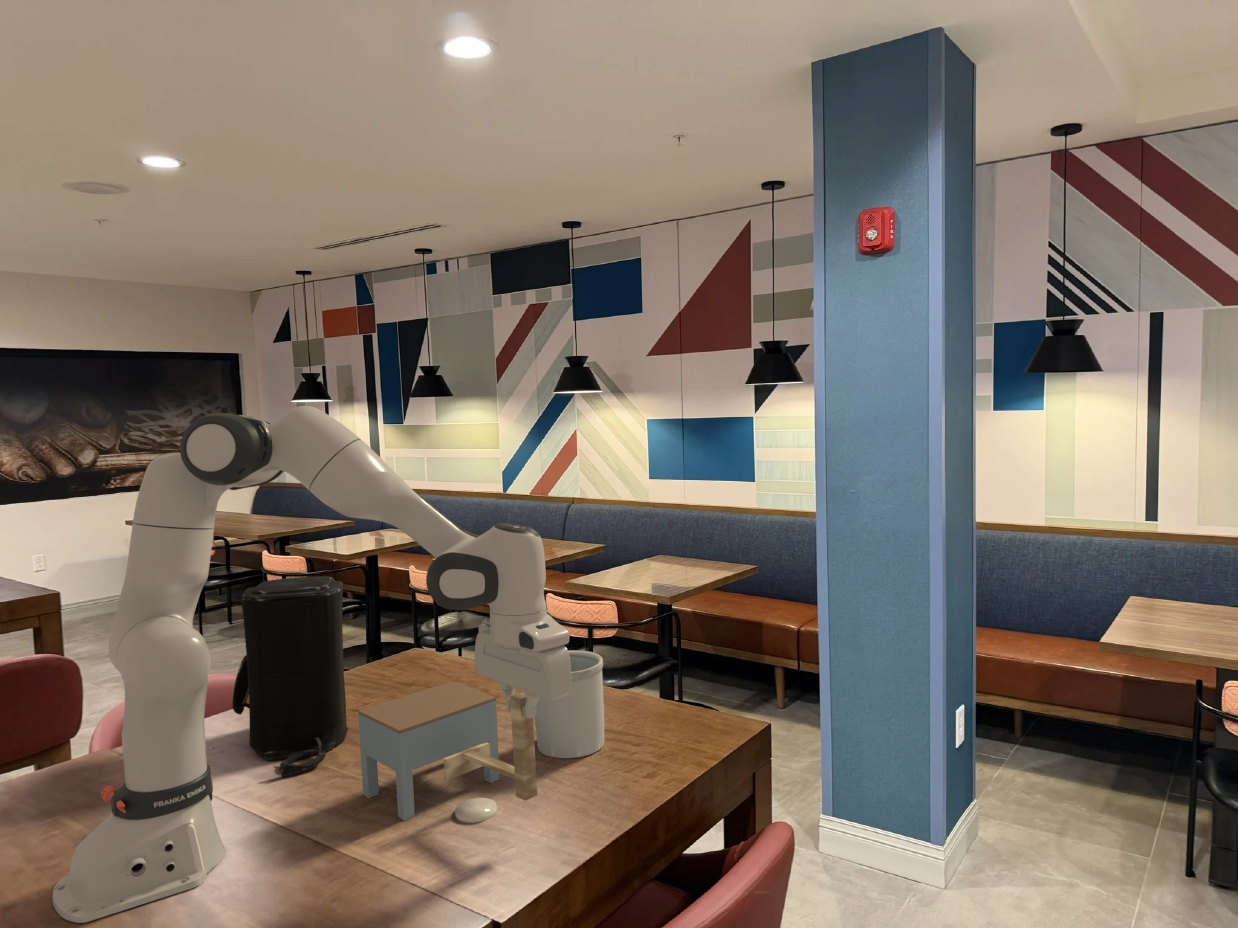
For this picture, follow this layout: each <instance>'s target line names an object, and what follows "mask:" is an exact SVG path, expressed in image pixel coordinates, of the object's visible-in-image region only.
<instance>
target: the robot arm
mask: <svg viewBox="0 0 1238 928" xmlns="http://www.w3.org/2000/svg"><path fill="white" fill-rule="evenodd" d="M284 472H285V473H287V474H289V475H291V476H292V478H294V479H296V480H297V481H298V482H300V483H301V485H302V486H303V487H305V488H306V489H307V490H308V491H309V492H310V493H311V494H312V495H314V496H315V497H316V498H317V499H318V500H320V501H321V503H323V504H324V505H326V506H327V507H329V508H331V509H332V510H333V511H335V512H337V513H339V514H341V515H343V516H345V517H347V518H352V519H361V520H362V519H363V520H371V521H372V520H373V521H377V522H383V523H385V524H389V525H391V526H393V527H396V528H397V529H398V530H400V531H401V532H403V533H404V534H405V535H407V536H408V537H409V538H411V539H412V540H413V541H414V542H416V543H417V544H418V545H419V546H421V547H422V548H423V549H425V551H427V552H428V553H430V555H432V556H433V557H434V558H435V559H433V561H432V562H431V564H430V565H429V567H428V570H427V571H426V580H425V583H426V588H427V591H428V594H429V596H430V597H431V599H433V601H434V602H435V603H436V604H437V605H438V606H440V607H442V608H443V609H446V610H451V611H462V610H463V611H464V610H467V609H473V608H479V607H482V606H485V605H486V606H489V618H485V619H483V620H482V621H481V622H480V624H479V625H478V633H477V635H476V639H475V644H474V648H475V649H474V659H473V660H474V661H473V663H474V668H475V671H476V673H477V675H479V676H481V677H484V678H487V679H489V680H492V681H495V682H498V683H500V690H501V693H502V695H503V697H504V700H505V709H506V710H507V711H509V712H510V713H511V704H510V696H513V695H516V694H517V693H516V689H517V690H520V691H523V692H524V693H525V697H526V698H527V701H526V704H525V705H523V706H521V710H522V713H521V714H522V716H523V717H526V718H529V719H530V718H533V719H534V718H535V716H536V705H537V703H538V701H539V699H540V697H542V698H545V699H548V700H556V699H559V698H562V697H564V696H566V695H567V694H568V692H569V691H570V688H571V665H570V656H569V652H568V651H569V650H568V648H567V647H566V646H565V645H567V644H569V642H570V633H569V631H568V629H566V628H565V627H564V626H563V625H561V624H560V623H559V622H558V621H557V620H555V619H554V618H553V617H552V616H551V615H549V613H547V611H548V610H547V607H548V606H547V602H546V599H545V594H544V593H545V592H544V591H545V585H546V582H547V581H546V580H547V576H546V575H547V573H546V571H547V570H546V559H545V558H546V556H545V549H544V543H543V539H542V537H541V535H540V533H539V532H538V531H536V530H535V529H534V528H532V527H529V526H527V525H524V524H519V523H518V524H517V523H511V522H510V523H506V522H504V523H497V524H495V525H492V527H491V528H490V529H488V530H487V531H485V532H484V533H482V534H481V535H480V534H475V533H472V532H470V531H467V530H466V529H464V528H461V526H459V525H458V524H456V522H454V521H452V520H451V519H450V518H448V517H447V516H446V515H445V514H444V513H442V512H441V511H440V510H439V509H437V508H436V507H435V506H434V505H433V504H431V503H430V502H429V501H428V500H426V499H425V498H424V497H423V496H421V495H420V494H419V493H418V492H416V491H415V490H414V489H413V488H411V486H410V485H408V483H407V482H405V481H404V480H403V479H402V478H401V477H400V476H399V475H398V474H397V473H396V472H395V471H394V470H393V468H391V467H390V466H389V465H388V464H387V463H386V461H384V460H383V459H382V457H381V456H379V454H377V452H375V451H374V450H373V448H372V447H370V446H369V445H368V444H367V443H366V442H365V441H363V440H362V439H361V438H360V437H359V436H357V434H355V433H354V432H353V431H351V430H350V428H348V427H347V426H345V425H344V424H342V423H341V422H340V421H338V420H337V419H335V417H332V416H331V415H329V414H328V413H326V412H324V411H322V410H321V409H319V408H317V407H315V406H310V405H300V406H296V407H293V408H291V409H290V410H287V411H286V412H285V413H284V414H282V415H281V416H280V417H279V418H278V419H277V420H276V421H274V422H273V423H270V422H268V421H264V420H261V419H258V418H256V417H253V416H249V415H247V414H246V415H245V414H235V413H234V414H233V413H227V412H226V413H225V412H220V413H219V412H218V413H211V414H207V415H204V416H202V417H199V418H198V419H196V420H194V421H193V422H192V423H190V424H189V425H188V426H187V428H186V429H185V430H184V432H183V434H182V436H181V440H180V443H179V452H170V453H167V454H163V455H159V456H157V457H155V458H154V459H153V460H151V461H150V462H149V463H148V465H147V467H146V469H145V472H144V475H143V478H142V480H141V484H140V487H139V490H138V495H137V499H136V502H135V508H134V511H133V512H134V513H133V520H132V527H131V533H130V540H129V550H128V555H127V556H128V557H127V563H126V570H125V576H124V581H123V585H122V589H121V592H120V596H119V599H118V603H117V607H116V610H115V615H114V619H113V625H112V629H111V633H110V636H109V640H108V655H109V660H110V661H111V664H112V665H113V666H114V668H115V669H116V670H117V671H118V672H119V673H120V676H121V679H122V681H123V688H124V712H123V713H124V714H123V715H124V716H123V726H122V731H121V743H122V757H123V769H124V770H123V771H124V783H123V784H122V785H121V786H120V787H119V789H116V787H114V785H107V786H105V787H104V788H102V790H101V792H100V796H101V799H103V801H104V802H106V803H107V804H109V803H110V808H111V813H110V814H109V815H108V816H107V817H106V818H105V819H104V820H103V821H102V822H101V823H100V824H99V825H97V827H96V828H95V829H93V830H92V831H91V832H90V833H89V834H88V835H87V836H86V837H85V838H84V839H83V840H82V841H80V842H79V844H78V845H77V846H76V848H75V849H74V852H73V855H72V857H71V862H70V869H69V870H70V871H69V875H67V876H65V877H62V878H61V879H60V880H58V882H57V883H56V884H55V885H54V887H53V889H52V905H53V908H54V909H55V911H56V912H57V915H59V916H60V917H61V918H63V919H64V920H66V921H68V922H73V923H78V924H85V923H88V922H92V921H95V920H98V919H101V918H105V917H107V916H109V915H112V914H116V913H120V912H122V911H125V910H129V909H132V908H135V907H139V906H141V905H145V904H147V903H151V902H154V901H157V900H160V899H163V898H167V897H169V896H173V895H175V894H179V893H182V892H184V891H188V890H191V889H193V888H196V887H198V886H200V885H201V884H202V883H203V881H205V877H206V876H207V874H208V873H209V872H210V871H211V870H212V869H214V868H215V867H216V866H217V865H218V864H219V863H220V862H221V861H222V859H223V858H224V856H225V852H226V849H225V848H226V847H225V845H224V843H223V842H222V839H221V836H220V833H219V831H218V828H217V823H216V820H215V816H214V815H215V813H214V812H213V805H212V801H213V793H214V784H213V774H212V772H211V766H210V765H209V764H208V760H207V758H208V757H207V743H206V731H205V730H206V727H205V713H206V712H205V709H206V702H207V694H208V679H209V674H210V671H211V666H212V665H211V664H212V659H211V653H210V649H209V647H208V644H207V642H206V639H205V637H204V636H203V635H202V634H201V633H200V632H199V631H198V630H197V629H195V628H194V624H193V623H194V622H193V621H194V617H195V612H196V610H197V609H196V608H197V604H198V603H199V599H200V595H201V592H202V590H203V587H204V586H205V584H206V583H207V581H208V578H209V572H210V566H211V565H210V564H211V563H210V562H211V558H212V557H211V556H212V548H213V547H212V546H213V539H214V532H215V524H216V522H215V521H216V513H217V509H218V508H217V507H218V503H219V501H220V499H221V497H222V495H224V493H225V492H226V491H228V490H229V491H230V490H231V491H237V490H241V489H247V488H252V487H253V488H254V487H258V486H263V485H266V484H268V483H271V482H273V481H274V480H276V479H278V478H279V477H280V476H281V475H282V474H283V473H284Z"/></svg>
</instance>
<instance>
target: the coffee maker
mask: <svg viewBox="0 0 1238 928" xmlns="http://www.w3.org/2000/svg"><path fill="white" fill-rule="evenodd" d="M343 595H344V583H343V582H342V581H341V580H335V578H333V577H331V576H327V575H323V576H322V575H321V576H318V575H317V576H300V577H287V578H279V579H278V578H276V579H269V580H264V581H262V582H260V583H259V584H258V585H257V586H252V587H248V588H247V589H246V590H245V591H244V592H243V593H242V594H241V598H240V601H241V610H242V619H243V628H244V639H245V640H244V641H245V650H246V651H245V653H246V654H245V655H244V656H243V658H242V660H241V663H240V664H239V667H238V670H237V673H236V677H235V681H234V685H233V691H232V692H233V693H232V702H231V703H232V710H233V712H234V713H235V714H237V715H240V716H241V715H242V714H243V713H244V711H245V708H247V709H248V711H249V713H248V714H249V716H248V717H249V747H250V748H251V749H252V750H253V751H254V752H255V753H256V754H258V755H259V757H261V758H265V760H266V761H274V760H276V761H277V760H282V761H281V763H279V765H274V766H273V768H274V769H279V770H281V773H280V775H281V778H285V776H288V775H293V774H295V773H298V772H303V771H304V770H306V769H310V768H314V767H315V766H317V765H319V764H321V763H322V762H323V761H324V759H325V757H326V756H327V752H329V751H332V750H334V749H335V747H337V746H338V745H340V744H341V742H344V741H345V739H346V737H347V734H348V730H349V728H348V725H347V724H348V723H347V710H346V709H347V701H346V700H347V699H346V686H345V685H346V683H345V669H344V666H345V665H344V639H343V637H344V636H343V634H344V633H343V608H344V607H343V606H344V605H343V601H344V598H343V597H344V596H343ZM247 701H248V702H247ZM309 756H310V757H311V756H315V758H313V759H312V760H310V761H307V762H305V763H304V762H303V763H300V764H299V763H298V764H296V763H293V762H295V761H297V760H300V759H304V758H306V757H309Z"/></svg>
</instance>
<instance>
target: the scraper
mask: <svg viewBox="0 0 1238 928" xmlns="http://www.w3.org/2000/svg"><path fill="white" fill-rule="evenodd" d="M526 701H527V698H526V697H525V692H520V693H516V695H513V696H510V704H511V712H510V717H511V718H510V719H511V735H512V736H511V737H512V738H511V739H512V751H513V755H512V756H513V765H511V764H509V763H507V762H504V761H503V760H500V759H499V760H497V759H494V758H492V757H490V743H488V742H486V743H484V744H483V743H482V744H480V745H477V746H475V747H472V748H469V749H467V750H464V751H462V752H459V753H457V754H454V755H451V756H449V757H446V758H443V759H442V760H443V775H444V780H446V781H449V780H451V779H454V778H456V777H459V776H461V775H463V774H466V773H469V772H472V771H474V770H477V769H479V768H481V767H483V768H484V767H486V768H488V769H491V770H493V771H496V772H498V773H499V775H504V776H505V777H508V778H511V779H512V780H514V785H515V786H514V787H515V797H516V798H518V799H521V800H523V801H524V802H526V801H528V800H531V799H532V798H535V797H537V796H538V784H537V765H536V749H535V734H534V733H535V731H534V717H533V718H530V719H529V718H526V717H523V716H522V714H521V713H522V710H521V706H523V705H525V704H526Z"/></svg>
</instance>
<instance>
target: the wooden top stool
mask: <svg viewBox="0 0 1238 928" xmlns="http://www.w3.org/2000/svg"><path fill="white" fill-rule="evenodd" d="M497 713H498V712H497V698H496V696H493V695H490V694H487V693H485V692H482V691H480V690H477V689H474V688H471V687H468V686H466V685H463V684H462V683H461V684H460V683H458V682H456V681H450V682H446V683H443V684H440V685H437V686H433V687H430V688H428V689H423V690H421V691H417V692H413V693H412V694H408V695H405V696H402V697H399V698H395V699H392V700H389V701H385V702H382V703H378V704H377V705H376V704H375V705H373V706H369V707H366V708H363V709H359V710H358V723H359V724H358V725H359V729H358V730H359V744H360V760H361V761H360V762H361V777H362V781H361V782H362V796H364V797H366V798H367V799H371V798H374V797H375V796H378V795H380V792H379V791H380V790H379V789H380V788H379V770H378V763H380V764H382V765H383V766H385V767H388V768H389V769H391V770H393V771H395V781H396V782H395V783H396V784H395V785H396V802H397V803H396V805H397V817H398V818H399V819H401V820H403V821H407V820H409V819H411V818H414V817H415V816H416V815H415V797H414V777H413V776H414V774H413V773H414V772H413V771H415V770H417V769H420V768H423V767H425V766H428V765H431V764H433V763H436V762H438V761H441V760H443V758H446V757H449V756H451V755H454V754H457V753H459V752H462V751H465V750H468V749H470V748H473V747H476V746H478V745H481V744H484V743H486V742H488V743H490V757H492V758H494V759H497V760H500V757H499V739H498V738H499V737H498V736H499V735H498V717H497ZM483 778H484V779H483V780H484V781H486V782H488V783H490V784H492V783H495V782H496V781H499V780H501V779H500V773H498V772H496V771H493V770H491V769H488V768H486V767H484V766H483Z"/></svg>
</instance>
